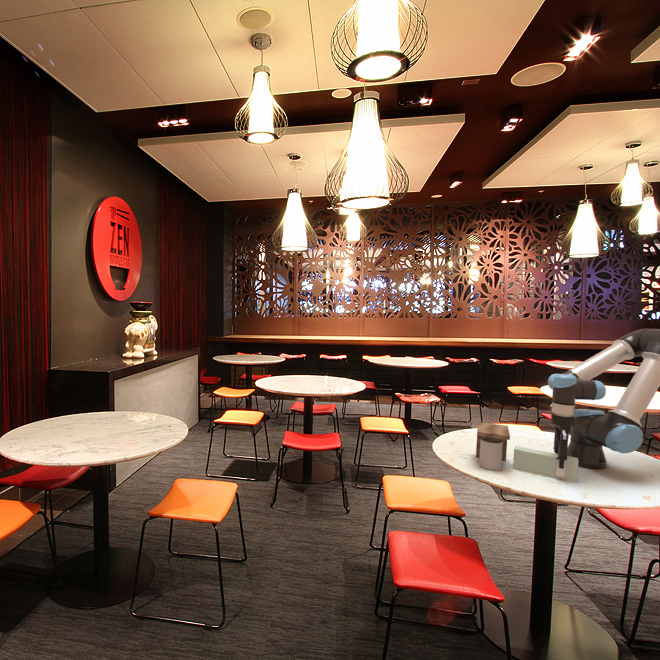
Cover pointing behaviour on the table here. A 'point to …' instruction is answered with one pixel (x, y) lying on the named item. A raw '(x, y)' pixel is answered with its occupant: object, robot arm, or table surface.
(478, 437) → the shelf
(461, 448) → the table surface
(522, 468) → the pale green block
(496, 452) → the mug
